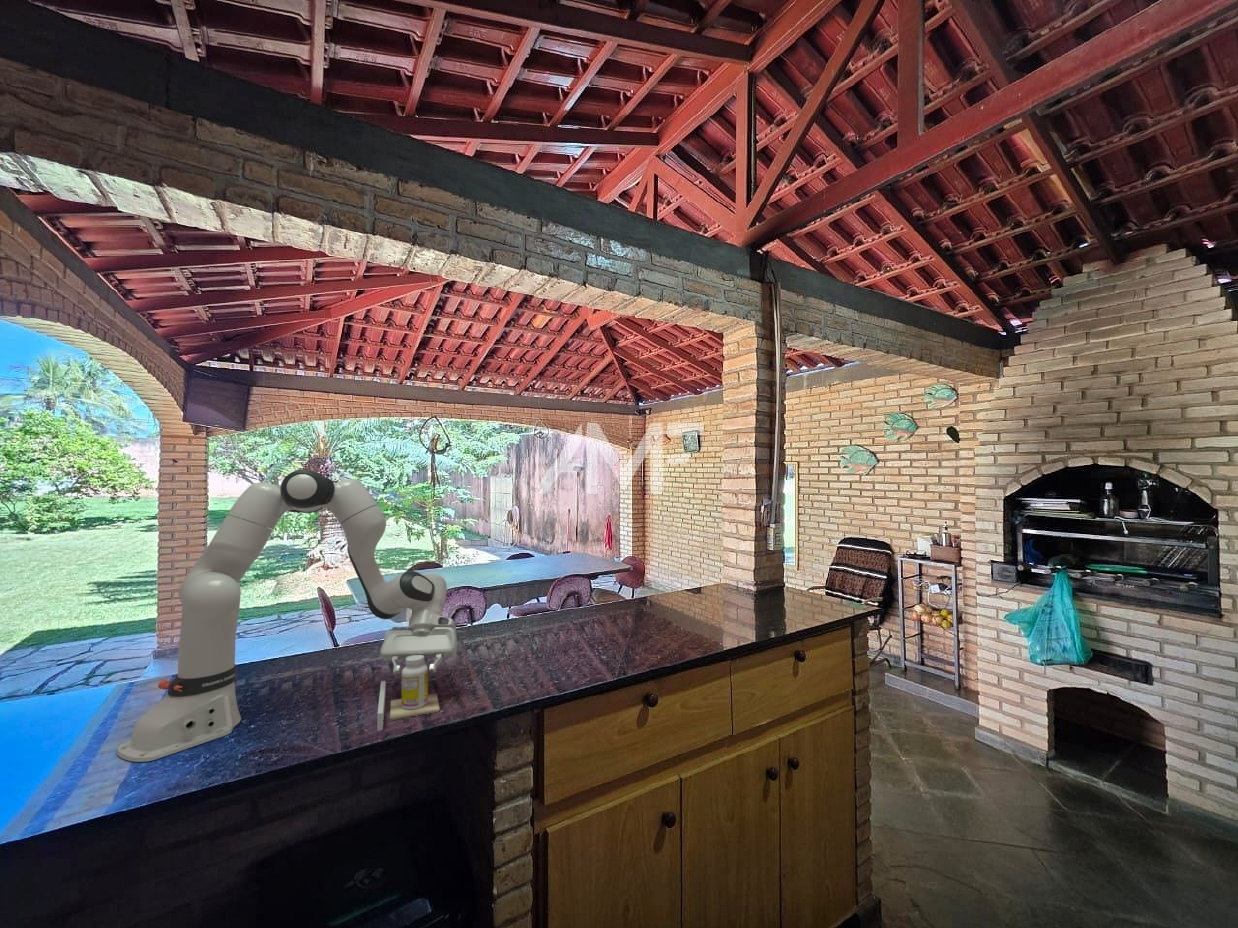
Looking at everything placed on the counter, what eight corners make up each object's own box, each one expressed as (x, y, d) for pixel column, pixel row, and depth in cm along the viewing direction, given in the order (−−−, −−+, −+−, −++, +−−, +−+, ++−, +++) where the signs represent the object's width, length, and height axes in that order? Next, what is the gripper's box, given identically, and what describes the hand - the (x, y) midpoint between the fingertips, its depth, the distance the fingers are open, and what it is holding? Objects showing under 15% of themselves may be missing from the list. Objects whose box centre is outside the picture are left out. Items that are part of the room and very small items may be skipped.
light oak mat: (439, 712, 130) (439, 709, 130) (390, 721, 125) (390, 718, 125) (436, 694, 141) (436, 692, 141) (390, 702, 136) (391, 700, 136)
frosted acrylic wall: (382, 731, 120) (382, 712, 120) (377, 732, 119) (377, 713, 119) (385, 696, 140) (385, 680, 140) (380, 697, 139) (381, 681, 139)
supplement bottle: (419, 697, 137) (420, 651, 138) (432, 704, 133) (432, 656, 134) (396, 705, 132) (397, 657, 133) (408, 712, 128) (409, 663, 129)
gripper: (385, 621, 139) (371, 669, 129) (458, 619, 142) (450, 665, 132) (390, 633, 144) (377, 679, 133) (461, 630, 146) (454, 675, 136)
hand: (414, 672), depth 133 cm, fingers open, 8 cm apart
